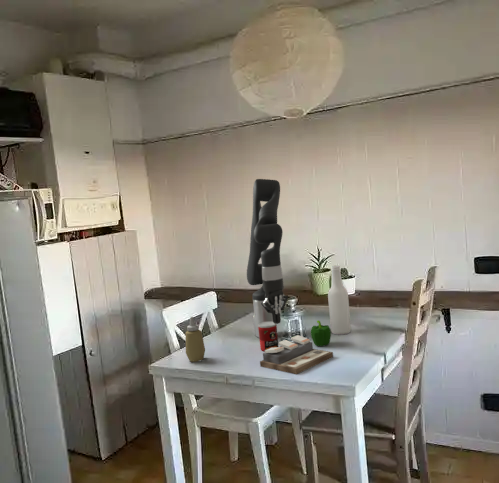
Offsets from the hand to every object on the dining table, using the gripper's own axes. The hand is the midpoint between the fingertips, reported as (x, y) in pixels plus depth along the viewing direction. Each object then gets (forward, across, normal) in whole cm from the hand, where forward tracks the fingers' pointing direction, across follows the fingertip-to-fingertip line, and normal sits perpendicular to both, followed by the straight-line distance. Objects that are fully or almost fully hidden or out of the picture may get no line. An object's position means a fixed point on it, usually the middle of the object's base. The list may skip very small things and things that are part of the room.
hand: (277, 323), depth 213 cm
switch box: (+17, -7, +2) cm, 18 cm away
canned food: (+17, -14, -19) cm, 30 cm away
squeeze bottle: (+17, +10, -38) cm, 43 cm away
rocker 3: (+12, -15, -2) cm, 19 cm away
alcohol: (+17, -48, -7) cm, 52 cm away
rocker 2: (+12, -7, -2) cm, 14 cm away
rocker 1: (+12, 0, -2) cm, 12 cm away
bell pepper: (+17, -29, -3) cm, 34 cm away
